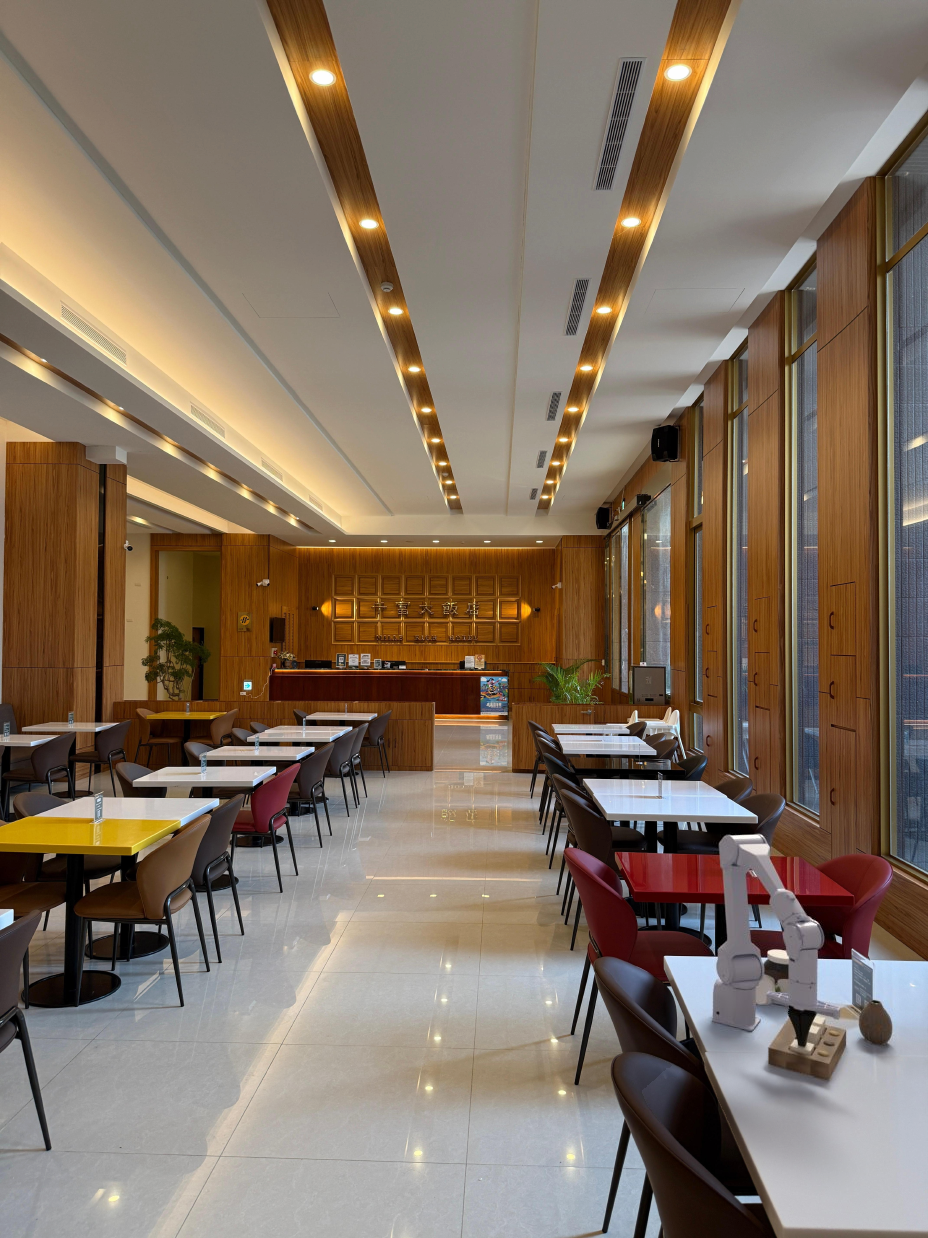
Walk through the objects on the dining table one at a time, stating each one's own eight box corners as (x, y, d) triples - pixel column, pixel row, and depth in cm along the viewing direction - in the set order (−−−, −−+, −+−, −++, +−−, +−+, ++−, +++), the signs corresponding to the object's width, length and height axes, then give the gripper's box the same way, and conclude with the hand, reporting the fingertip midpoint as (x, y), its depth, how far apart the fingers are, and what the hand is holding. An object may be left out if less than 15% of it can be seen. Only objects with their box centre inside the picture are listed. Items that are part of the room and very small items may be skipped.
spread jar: (805, 1001, 214) (805, 954, 214) (796, 1016, 204) (796, 967, 205) (756, 990, 220) (757, 944, 221) (745, 1004, 210) (746, 956, 211)
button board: (768, 1064, 178) (768, 1046, 178) (790, 1031, 195) (790, 1015, 195) (828, 1081, 172) (829, 1063, 172) (846, 1046, 188) (846, 1029, 188)
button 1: (790, 1065, 178) (790, 1046, 178) (794, 1058, 181) (794, 1039, 181) (810, 1071, 175) (810, 1051, 176) (814, 1063, 179) (814, 1044, 179)
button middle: (796, 1047, 183) (796, 1029, 183) (800, 1041, 186) (800, 1022, 186) (816, 1053, 180) (816, 1034, 181) (819, 1046, 184) (820, 1027, 184)
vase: (896, 1049, 187) (896, 1009, 188) (863, 1046, 189) (863, 1006, 189) (887, 1036, 194) (887, 997, 194) (855, 1033, 195) (855, 994, 196)
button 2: (802, 1038, 188) (802, 1019, 188) (806, 1031, 191) (806, 1013, 191) (821, 1043, 185) (821, 1024, 186) (825, 1036, 189) (825, 1018, 189)
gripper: (762, 977, 180) (762, 1042, 179) (836, 993, 172) (835, 1061, 171) (771, 967, 186) (770, 1030, 185) (842, 983, 178) (841, 1049, 177)
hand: (802, 1044), depth 178 cm, fingers closed
